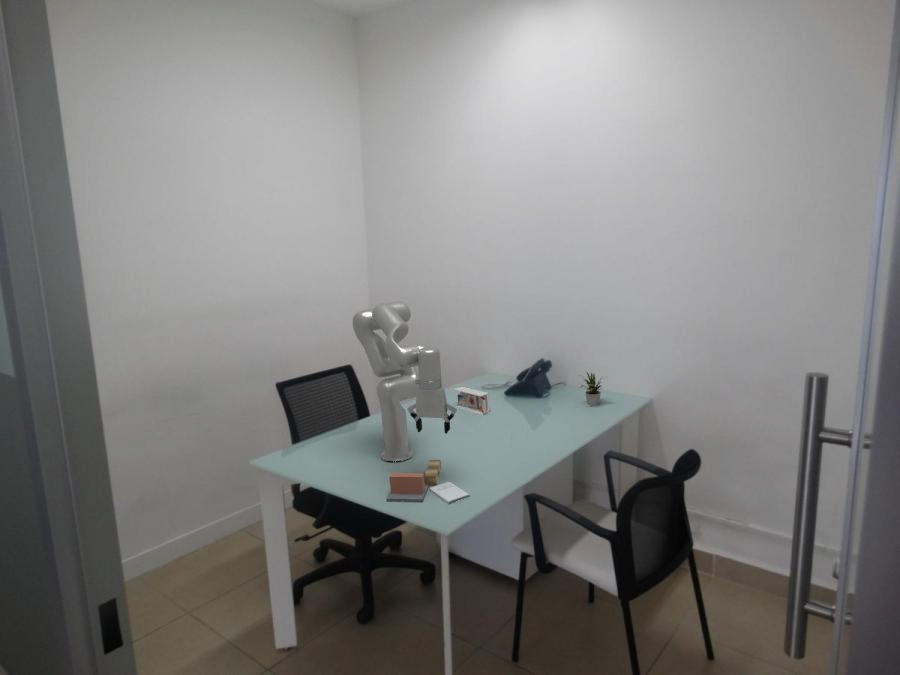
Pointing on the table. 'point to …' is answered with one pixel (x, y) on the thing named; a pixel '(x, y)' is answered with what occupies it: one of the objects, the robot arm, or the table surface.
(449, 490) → the external hard drive
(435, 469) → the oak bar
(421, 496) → the fulcrum board
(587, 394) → the house plant
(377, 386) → the robot arm
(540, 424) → the table surface
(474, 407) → the cigarette display
